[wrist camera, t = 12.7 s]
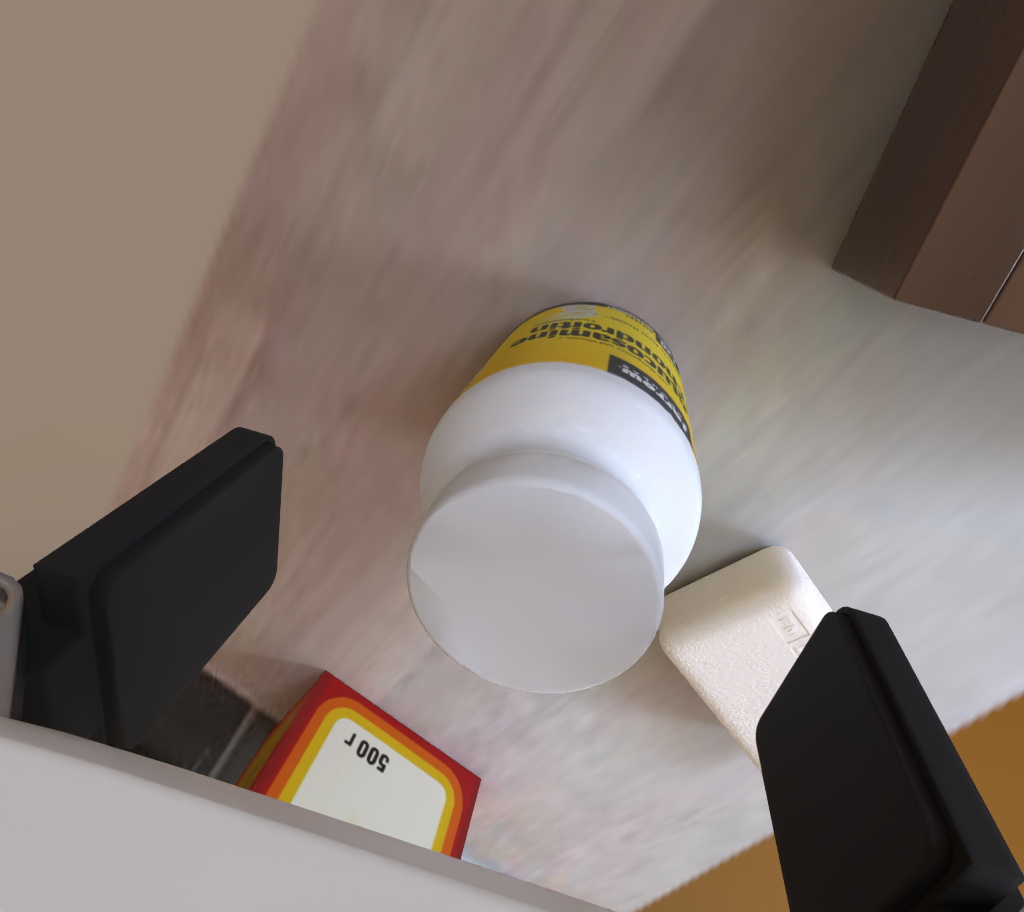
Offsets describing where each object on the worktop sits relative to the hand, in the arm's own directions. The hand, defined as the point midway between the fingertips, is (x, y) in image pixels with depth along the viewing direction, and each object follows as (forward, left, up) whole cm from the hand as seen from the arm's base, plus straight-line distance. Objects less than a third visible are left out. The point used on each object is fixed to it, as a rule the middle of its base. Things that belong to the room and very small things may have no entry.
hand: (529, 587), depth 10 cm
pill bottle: (0, 0, -12) cm, 12 cm away
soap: (+10, -9, -12) cm, 18 cm away
